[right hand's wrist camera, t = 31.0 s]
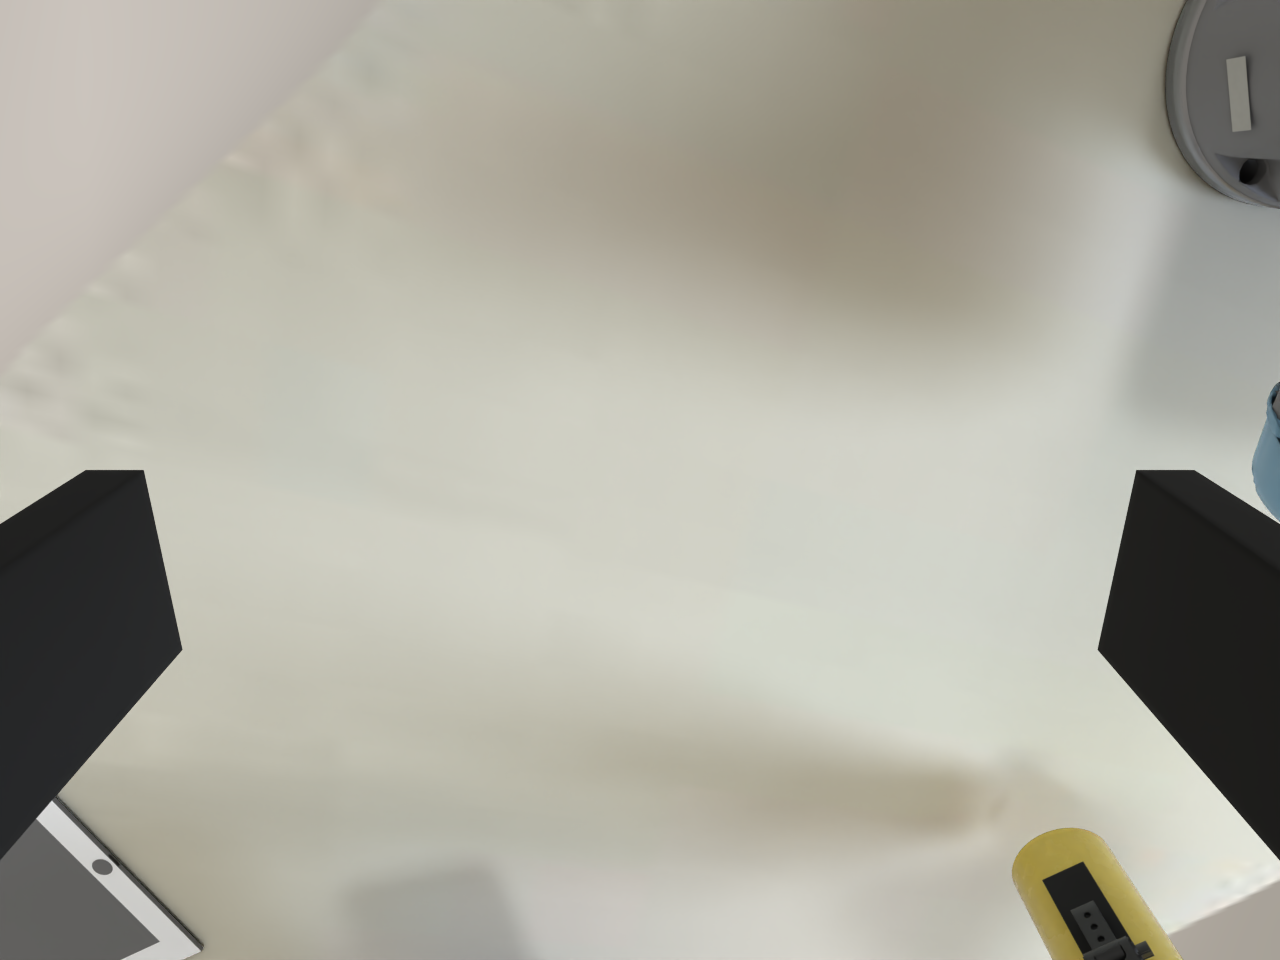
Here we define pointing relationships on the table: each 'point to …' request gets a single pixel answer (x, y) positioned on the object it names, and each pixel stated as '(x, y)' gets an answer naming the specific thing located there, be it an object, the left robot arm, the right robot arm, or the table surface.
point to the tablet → (79, 900)
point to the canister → (1084, 846)
